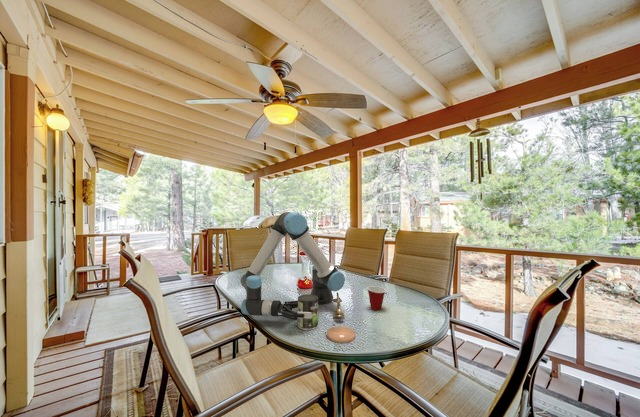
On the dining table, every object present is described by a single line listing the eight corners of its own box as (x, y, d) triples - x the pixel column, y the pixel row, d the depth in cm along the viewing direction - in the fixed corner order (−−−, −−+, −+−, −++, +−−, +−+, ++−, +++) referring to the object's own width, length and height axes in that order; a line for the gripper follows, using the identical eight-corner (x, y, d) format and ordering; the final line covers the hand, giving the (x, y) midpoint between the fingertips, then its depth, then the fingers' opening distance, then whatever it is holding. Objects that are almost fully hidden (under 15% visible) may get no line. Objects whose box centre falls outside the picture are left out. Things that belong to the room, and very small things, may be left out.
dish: (320, 335, 120) (320, 332, 120) (340, 326, 129) (340, 323, 129) (341, 346, 110) (341, 342, 110) (360, 336, 119) (360, 332, 119)
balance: (345, 323, 133) (345, 301, 133) (333, 323, 133) (333, 301, 133) (342, 310, 150) (342, 290, 150) (331, 310, 149) (331, 291, 149)
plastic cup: (384, 313, 145) (384, 292, 145) (365, 311, 149) (365, 290, 149) (387, 307, 155) (387, 286, 155) (369, 304, 159) (369, 284, 159)
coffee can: (322, 324, 132) (322, 296, 132) (310, 332, 123) (310, 302, 123) (305, 319, 137) (305, 292, 137) (293, 327, 129) (293, 298, 129)
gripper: (279, 306, 145) (316, 308, 142) (264, 326, 120) (309, 328, 118) (279, 292, 145) (316, 294, 142) (263, 310, 120) (309, 312, 118)
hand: (313, 309), depth 130 cm, fingers open, 13 cm apart
